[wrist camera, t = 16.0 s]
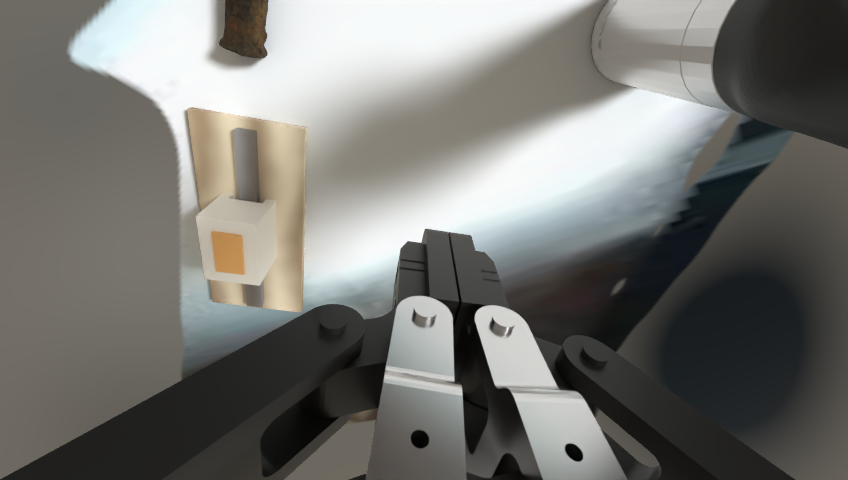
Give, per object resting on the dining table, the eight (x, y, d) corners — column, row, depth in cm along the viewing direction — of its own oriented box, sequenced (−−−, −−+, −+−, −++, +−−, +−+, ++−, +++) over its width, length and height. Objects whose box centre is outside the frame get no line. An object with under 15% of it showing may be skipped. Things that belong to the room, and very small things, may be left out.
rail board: (306, 127, 40) (301, 131, 38) (302, 307, 53) (298, 317, 51) (191, 107, 39) (181, 111, 37) (216, 297, 51) (209, 306, 50)
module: (275, 200, 43) (255, 226, 38) (277, 256, 47) (258, 287, 41) (223, 192, 42) (193, 217, 37) (228, 250, 46) (203, 280, 41)
